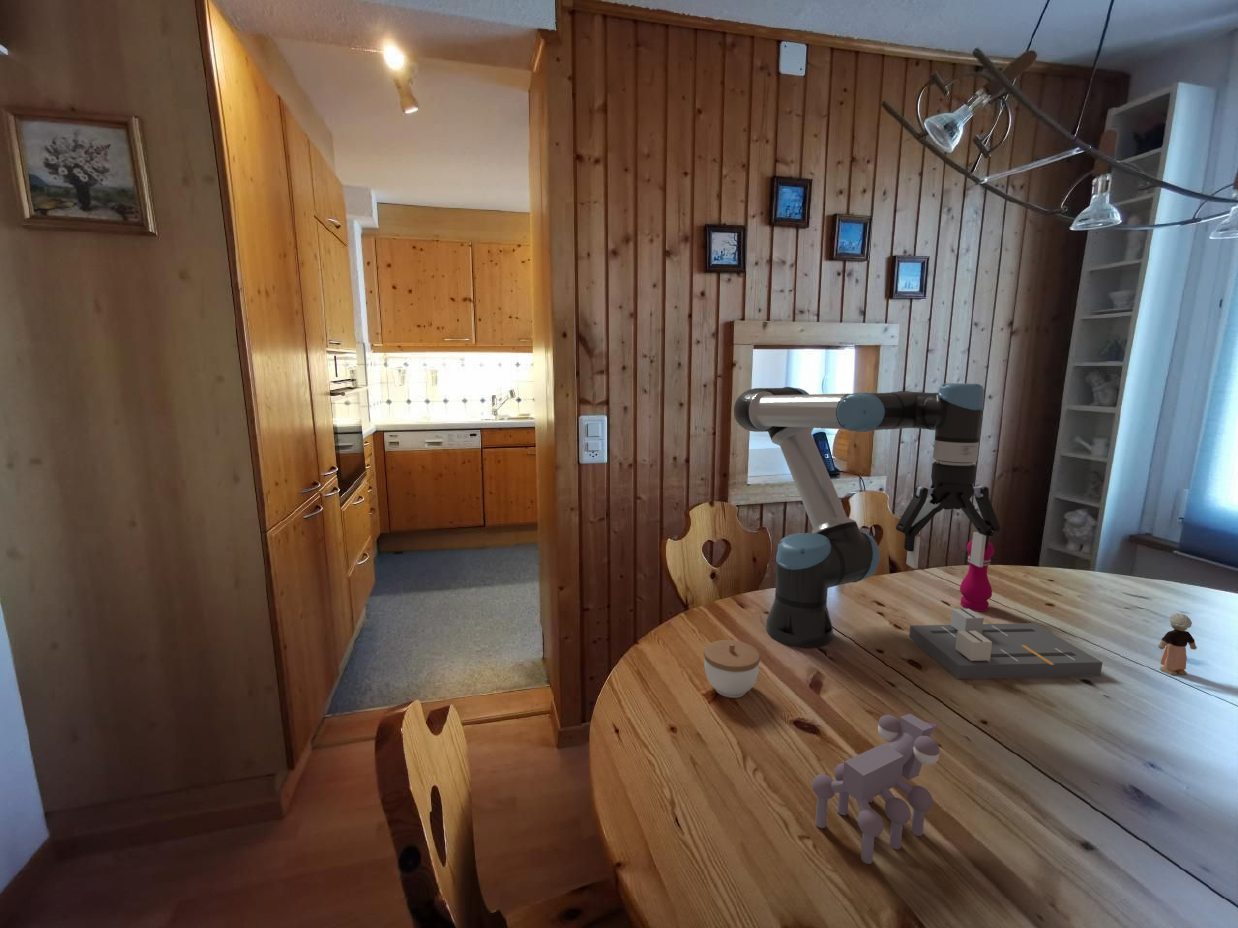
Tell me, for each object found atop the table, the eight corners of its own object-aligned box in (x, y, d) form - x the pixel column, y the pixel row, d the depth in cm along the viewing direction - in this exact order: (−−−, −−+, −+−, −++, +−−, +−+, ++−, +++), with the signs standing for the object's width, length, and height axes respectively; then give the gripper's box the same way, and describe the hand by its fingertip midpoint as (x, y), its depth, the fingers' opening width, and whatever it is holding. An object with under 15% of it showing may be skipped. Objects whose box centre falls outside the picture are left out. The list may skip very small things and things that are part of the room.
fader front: (970, 660, 114) (973, 641, 113) (955, 648, 119) (957, 630, 118) (990, 660, 114) (992, 641, 114) (973, 648, 119) (975, 630, 118)
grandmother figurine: (1173, 664, 119) (1183, 608, 117) (1195, 673, 115) (1206, 616, 113) (1146, 669, 117) (1156, 612, 115) (1168, 678, 114) (1178, 620, 112)
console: (959, 680, 113) (961, 666, 113) (909, 637, 131) (910, 625, 131) (1102, 676, 114) (1104, 662, 114) (1032, 634, 132) (1034, 622, 132)
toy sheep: (896, 769, 88) (907, 692, 85) (964, 819, 79) (979, 735, 76) (802, 816, 78) (812, 731, 76) (867, 879, 69) (880, 785, 66)
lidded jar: (712, 669, 117) (713, 627, 116) (763, 682, 113) (765, 638, 111) (695, 696, 108) (696, 650, 106) (751, 710, 103) (753, 663, 102)
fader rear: (964, 635, 125) (966, 617, 125) (950, 625, 130) (952, 608, 129) (981, 634, 125) (983, 617, 125) (967, 624, 130) (969, 607, 130)
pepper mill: (962, 610, 146) (970, 536, 143) (954, 599, 153) (962, 528, 150) (994, 613, 144) (1002, 538, 141) (985, 602, 151) (993, 531, 148)
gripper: (903, 466, 106) (894, 573, 109) (1029, 464, 107) (1016, 570, 111) (882, 459, 113) (875, 560, 117) (1001, 458, 115) (989, 558, 118)
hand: (944, 565), depth 114 cm, fingers open, 13 cm apart
